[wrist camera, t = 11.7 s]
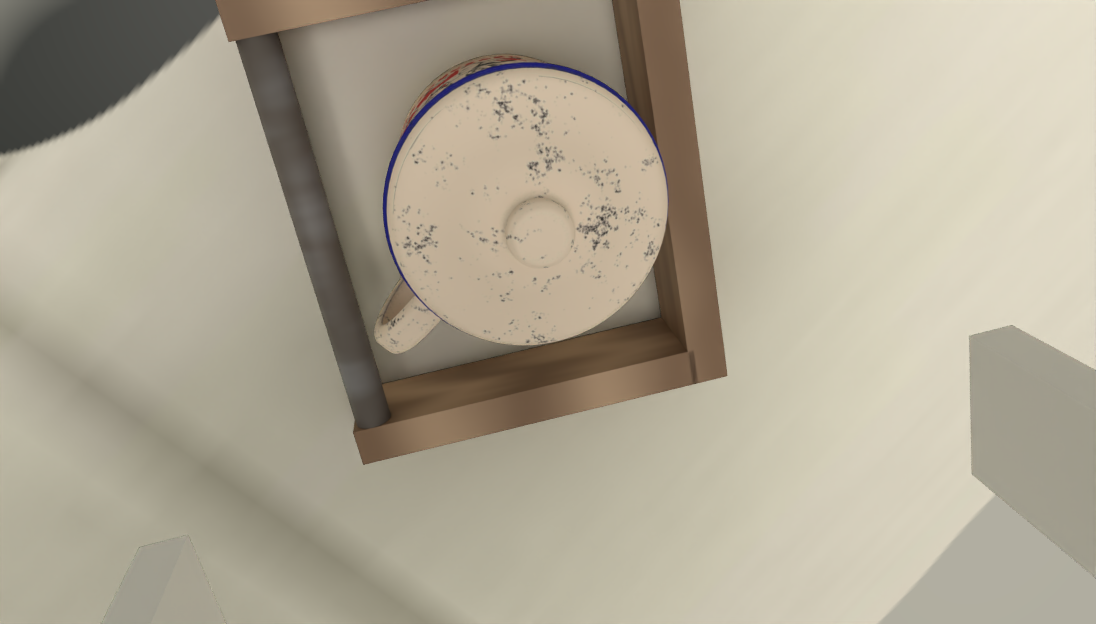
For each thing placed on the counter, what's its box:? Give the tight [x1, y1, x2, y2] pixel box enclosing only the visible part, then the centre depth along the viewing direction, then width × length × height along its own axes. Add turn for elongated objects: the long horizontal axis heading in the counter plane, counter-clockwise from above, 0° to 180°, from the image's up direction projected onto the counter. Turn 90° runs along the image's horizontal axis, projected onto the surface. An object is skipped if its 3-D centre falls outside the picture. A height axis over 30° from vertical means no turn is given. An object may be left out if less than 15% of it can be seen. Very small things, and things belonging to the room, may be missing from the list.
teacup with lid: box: [374, 54, 669, 354], centre depth 30 cm, size 12×9×12 cm
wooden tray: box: [215, 0, 727, 465], centre depth 33 cm, size 15×18×4 cm
